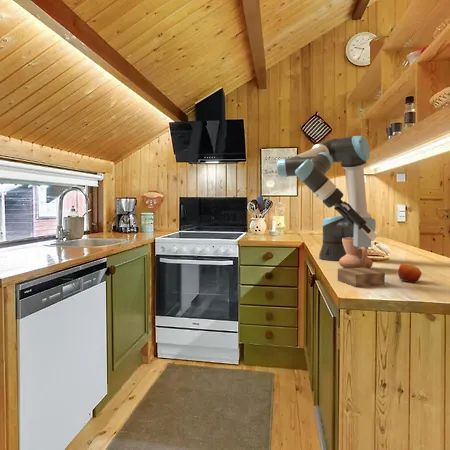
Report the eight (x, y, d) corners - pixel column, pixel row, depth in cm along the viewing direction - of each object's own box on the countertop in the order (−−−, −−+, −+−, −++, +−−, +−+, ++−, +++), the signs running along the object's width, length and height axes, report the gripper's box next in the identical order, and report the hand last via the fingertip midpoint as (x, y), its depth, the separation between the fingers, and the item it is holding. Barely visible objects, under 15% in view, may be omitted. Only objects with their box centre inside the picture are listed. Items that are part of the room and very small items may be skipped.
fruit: (389, 275, 144) (401, 258, 143) (407, 285, 143) (418, 268, 142) (397, 279, 136) (409, 261, 135) (415, 290, 135) (427, 272, 134)
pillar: (353, 245, 139) (353, 217, 139) (366, 245, 139) (367, 217, 139) (357, 246, 134) (358, 217, 134) (371, 247, 134) (371, 217, 134)
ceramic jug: (333, 266, 174) (334, 236, 173) (363, 265, 174) (363, 236, 173) (347, 273, 156) (348, 240, 155) (380, 273, 156) (381, 240, 155)
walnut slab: (364, 279, 144) (364, 267, 144) (384, 286, 132) (384, 272, 132) (337, 281, 141) (337, 268, 141) (355, 288, 129) (356, 274, 129)
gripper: (317, 201, 146) (357, 242, 146) (327, 200, 128) (373, 247, 128) (330, 188, 145) (371, 229, 145) (342, 185, 127) (389, 232, 127)
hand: (372, 237), depth 136 cm, fingers closed on pillar, 5 cm apart
